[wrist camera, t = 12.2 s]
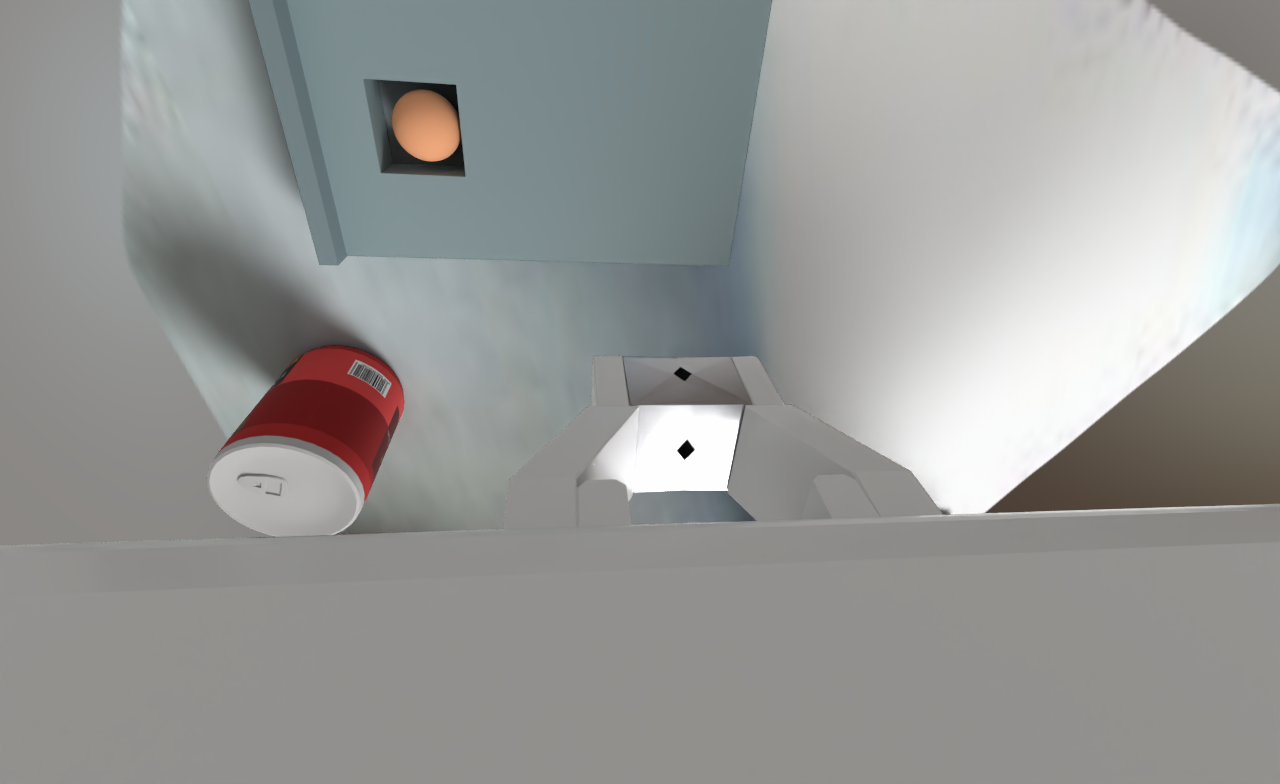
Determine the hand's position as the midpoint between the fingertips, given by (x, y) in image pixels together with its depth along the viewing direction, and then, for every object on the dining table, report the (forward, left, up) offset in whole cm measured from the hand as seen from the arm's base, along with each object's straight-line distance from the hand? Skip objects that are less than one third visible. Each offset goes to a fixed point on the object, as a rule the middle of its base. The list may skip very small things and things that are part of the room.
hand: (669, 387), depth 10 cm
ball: (+9, 0, -25) cm, 27 cm away
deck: (+4, 0, -27) cm, 27 cm away
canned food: (+18, +18, -27) cm, 37 cm away
